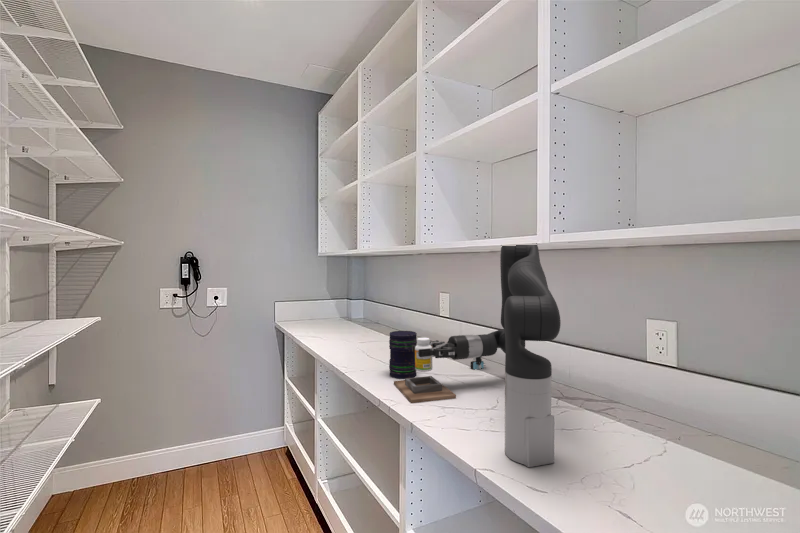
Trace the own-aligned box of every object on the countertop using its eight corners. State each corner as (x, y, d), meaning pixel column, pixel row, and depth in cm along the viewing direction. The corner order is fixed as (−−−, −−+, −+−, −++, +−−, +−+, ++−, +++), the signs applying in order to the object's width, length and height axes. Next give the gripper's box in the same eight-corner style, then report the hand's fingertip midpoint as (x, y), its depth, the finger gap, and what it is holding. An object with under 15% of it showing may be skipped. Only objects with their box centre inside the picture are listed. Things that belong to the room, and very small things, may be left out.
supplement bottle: (420, 366, 125) (419, 336, 125) (435, 368, 123) (434, 337, 122) (412, 370, 121) (411, 339, 120) (427, 373, 118) (427, 341, 118)
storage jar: (383, 375, 138) (383, 333, 138) (401, 369, 145) (401, 329, 145) (404, 381, 131) (404, 337, 131) (422, 374, 139) (422, 332, 139)
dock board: (456, 398, 115) (456, 388, 115) (411, 403, 111) (411, 392, 111) (433, 380, 132) (433, 371, 132) (393, 384, 128) (393, 375, 128)
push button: (480, 365, 151) (480, 339, 151) (490, 368, 146) (490, 342, 146) (467, 367, 148) (467, 341, 148) (476, 371, 143) (476, 344, 143)
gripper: (455, 331, 132) (408, 334, 127) (475, 339, 119) (423, 343, 114) (455, 353, 132) (408, 357, 128) (475, 364, 119) (423, 369, 114)
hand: (415, 351), depth 121 cm, fingers closed on supplement bottle, 5 cm apart
